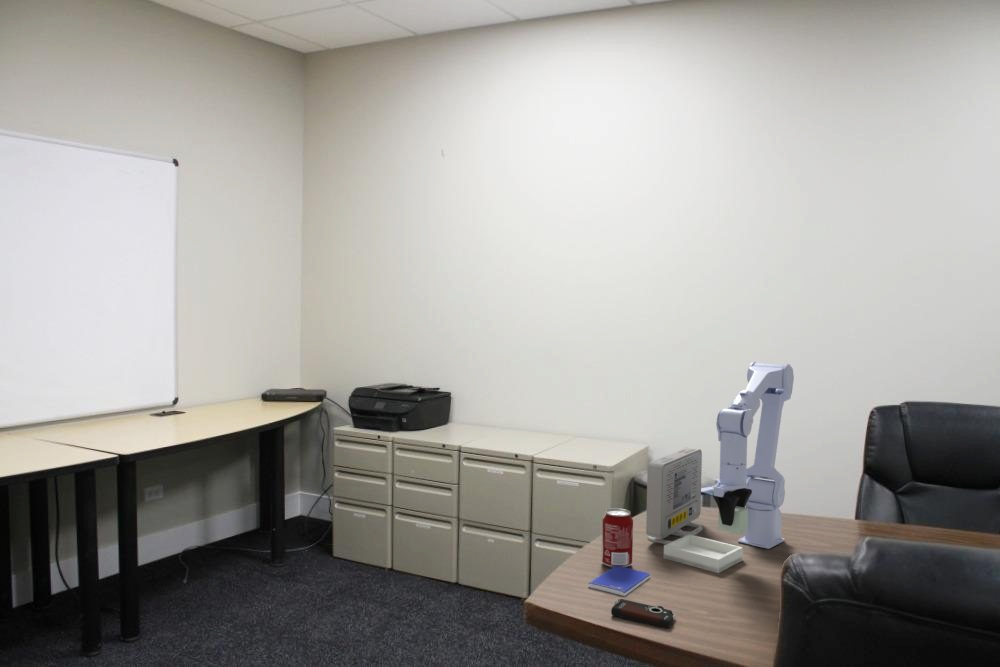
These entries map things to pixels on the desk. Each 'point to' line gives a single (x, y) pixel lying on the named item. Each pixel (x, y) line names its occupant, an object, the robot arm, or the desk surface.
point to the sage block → (736, 521)
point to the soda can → (617, 538)
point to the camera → (643, 613)
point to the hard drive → (619, 580)
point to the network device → (673, 494)
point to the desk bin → (703, 553)
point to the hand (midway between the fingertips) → (731, 522)
